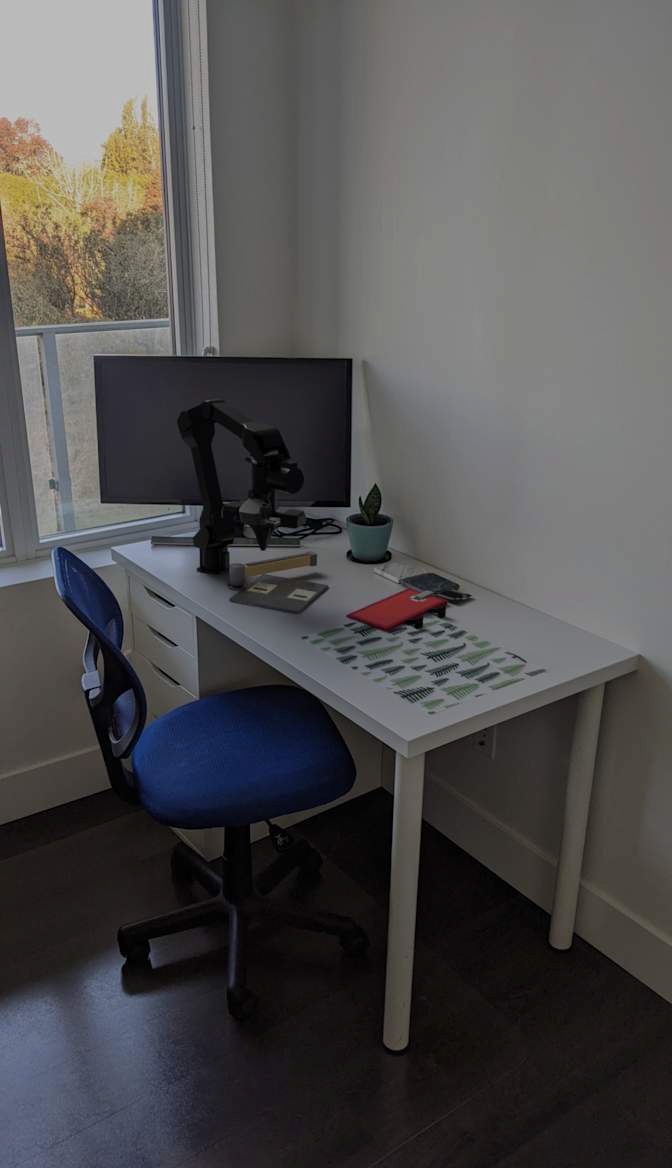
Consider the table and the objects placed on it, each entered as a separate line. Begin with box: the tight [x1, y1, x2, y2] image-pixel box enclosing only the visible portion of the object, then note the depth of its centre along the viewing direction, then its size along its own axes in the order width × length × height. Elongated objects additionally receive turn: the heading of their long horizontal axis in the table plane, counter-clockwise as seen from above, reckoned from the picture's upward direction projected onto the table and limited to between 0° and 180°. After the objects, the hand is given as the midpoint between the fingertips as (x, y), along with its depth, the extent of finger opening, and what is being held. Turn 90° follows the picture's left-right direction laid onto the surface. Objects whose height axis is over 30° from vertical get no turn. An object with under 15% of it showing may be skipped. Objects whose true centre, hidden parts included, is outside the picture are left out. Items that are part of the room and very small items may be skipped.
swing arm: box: [229, 550, 318, 586], centre depth 219 cm, size 23×4×4 cm, turn 124°
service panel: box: [226, 573, 329, 615], centre depth 212 cm, size 22×18×1 cm
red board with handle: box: [346, 588, 473, 633], centre depth 206 cm, size 30×3×15 cm
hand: (263, 550), depth 209 cm, fingers closed
